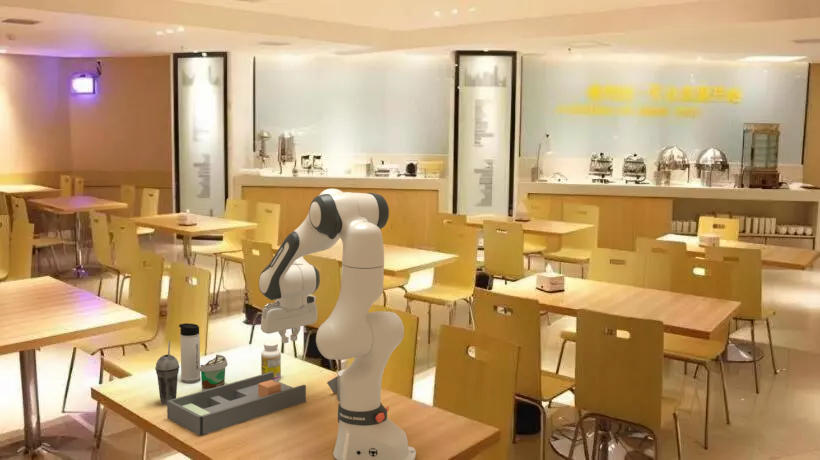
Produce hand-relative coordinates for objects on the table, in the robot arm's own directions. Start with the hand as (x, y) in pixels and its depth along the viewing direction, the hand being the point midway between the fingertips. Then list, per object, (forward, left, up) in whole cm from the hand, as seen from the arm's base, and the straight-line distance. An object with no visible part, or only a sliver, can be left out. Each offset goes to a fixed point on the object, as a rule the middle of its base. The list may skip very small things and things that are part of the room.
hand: (289, 341), depth 245 cm
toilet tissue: (-17, -8, -19) cm, 27 cm away
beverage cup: (+34, +17, -19) cm, 43 cm away
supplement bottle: (+14, -14, -19) cm, 28 cm away
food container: (+26, +1, -19) cm, 32 cm away
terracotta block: (+4, +7, -16) cm, 18 cm away
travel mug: (+39, -3, -19) cm, 44 cm away
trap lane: (+10, +14, -19) cm, 26 cm away
